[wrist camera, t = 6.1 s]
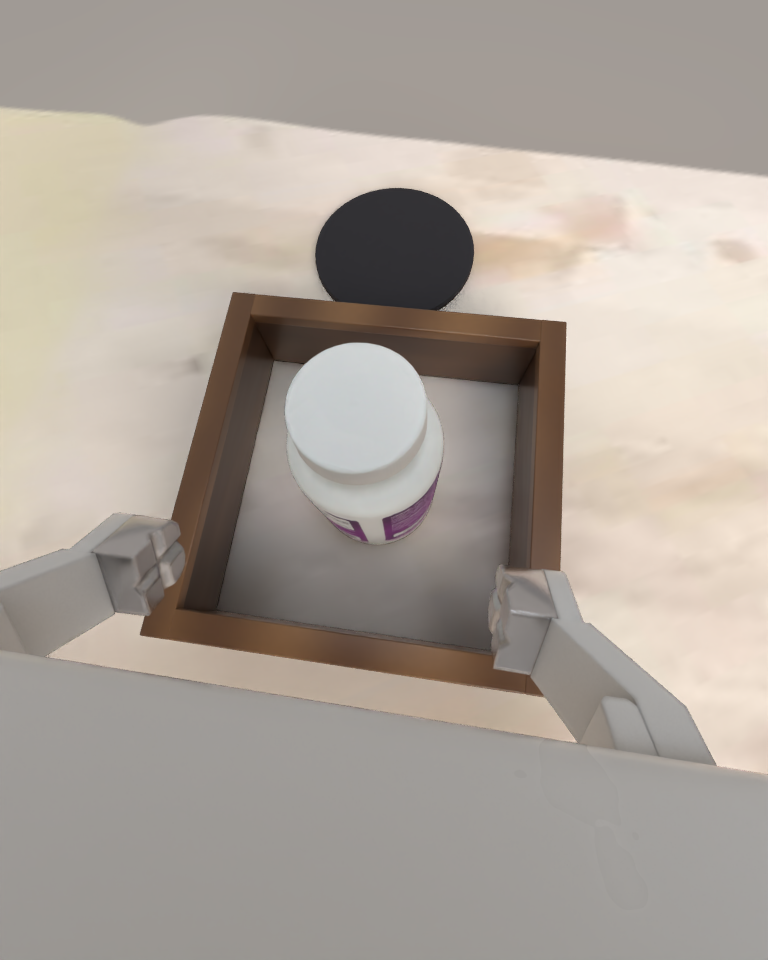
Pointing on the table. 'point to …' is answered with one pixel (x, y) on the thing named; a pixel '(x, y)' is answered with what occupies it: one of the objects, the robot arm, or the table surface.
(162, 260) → the table surface
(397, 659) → the wooden square frame
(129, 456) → the table surface
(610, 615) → the table surface
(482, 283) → the table surface
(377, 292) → the coaster
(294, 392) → the pill bottle
